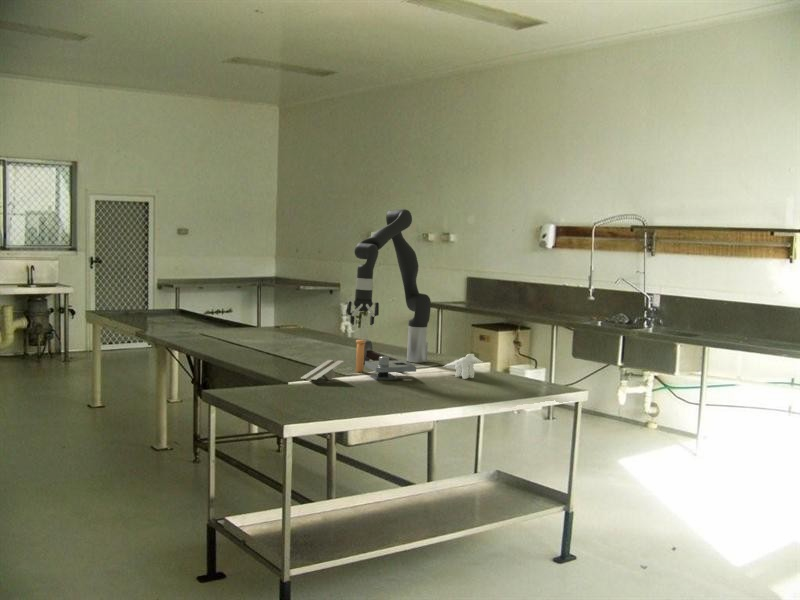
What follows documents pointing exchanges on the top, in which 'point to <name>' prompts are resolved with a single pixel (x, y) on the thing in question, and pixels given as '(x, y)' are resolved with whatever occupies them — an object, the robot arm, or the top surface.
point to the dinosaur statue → (464, 366)
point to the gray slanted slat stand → (323, 371)
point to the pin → (360, 355)
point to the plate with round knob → (388, 368)
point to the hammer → (373, 353)
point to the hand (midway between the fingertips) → (361, 324)
